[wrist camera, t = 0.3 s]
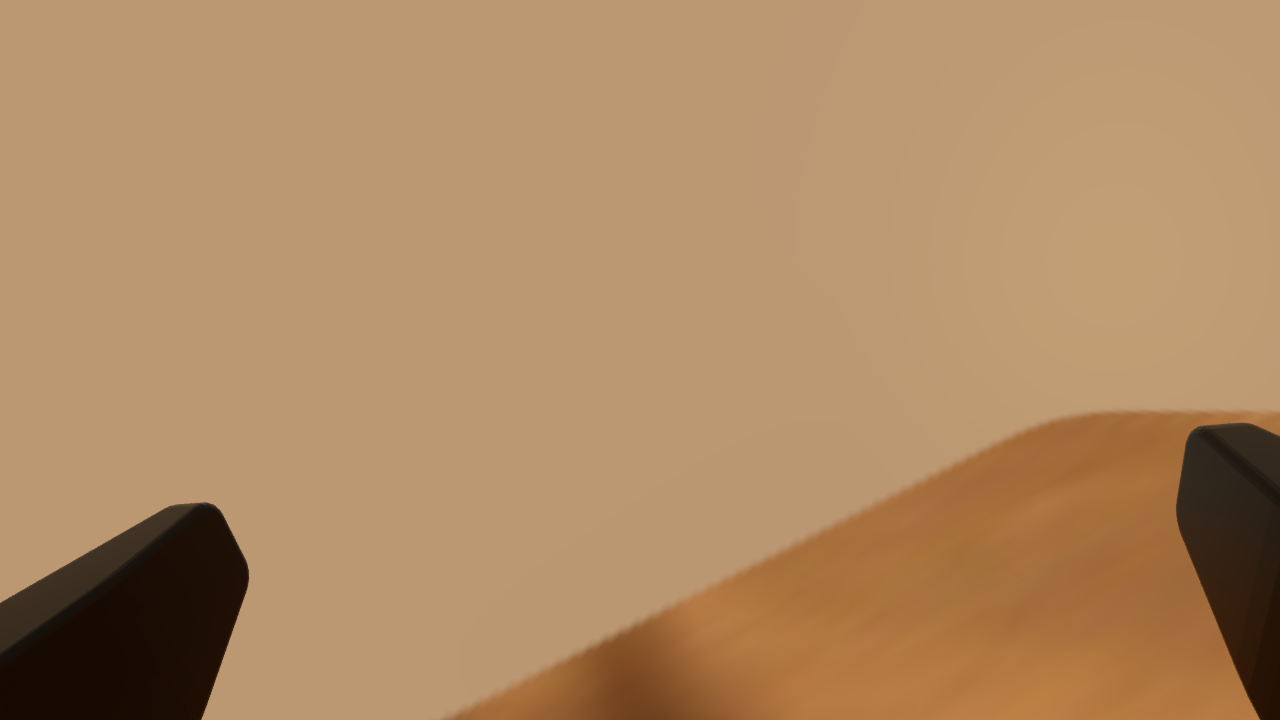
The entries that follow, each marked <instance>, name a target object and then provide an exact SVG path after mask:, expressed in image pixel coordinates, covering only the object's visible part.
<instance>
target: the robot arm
mask: <svg viewBox="0 0 1280 720" xmlns="http://www.w3.org/2000/svg"><path fill="white" fill-rule="evenodd" d="M1176 515H1177V522H1178V526H1179V530H1180V533H1181V536H1182V538H1183V541H1184V543H1185V545H1186V548H1187V550H1188V553H1189V555H1190V558H1191V560H1192V563H1193V565H1194V568H1195V570H1196V572H1197V575H1198V577H1199V580H1200V582H1201V585H1202V587H1203V590H1204V592H1205V595H1206V597H1207V600H1208V602H1209V604H1210V607H1211V609H1212V612H1213V614H1214V617H1215V619H1216V622H1217V624H1218V627H1219V629H1220V631H1221V634H1222V636H1223V639H1224V641H1225V644H1226V646H1227V649H1228V651H1229V654H1230V656H1231V658H1232V661H1233V663H1234V666H1235V668H1236V671H1237V673H1238V675H1239V677H1240V680H1241V682H1242V684H1243V686H1244V689H1245V691H1246V693H1247V695H1248V697H1249V699H1250V701H1251V703H1252V705H1253V707H1254V709H1255V711H1256V713H1257V715H1258V717H1259V719H1260V720H1280V436H1278V435H1276V434H1273V433H1271V432H1269V431H1267V430H1264V429H1262V428H1260V427H1258V426H1255V425H1253V424H1249V423H1231V424H1219V425H1206V426H1199V427H1197V428H1196V429H1194V430H1193V431H1191V433H1190V435H1189V436H1188V439H1187V442H1186V446H1185V452H1184V459H1183V465H1182V471H1181V477H1180V483H1179V490H1178V496H1177V503H1176ZM248 582H249V570H248V565H247V562H246V560H245V558H244V555H243V554H242V552H241V550H240V548H239V546H238V544H237V542H236V540H235V538H234V536H233V534H232V532H231V530H230V528H229V526H228V524H227V522H226V520H225V518H224V516H223V514H222V512H221V511H220V510H219V509H218V508H217V507H216V506H214V505H213V504H210V503H190V504H178V505H173V506H169V507H167V508H165V509H163V510H161V511H160V512H158V513H156V514H155V515H153V516H151V517H149V518H147V519H146V520H144V521H142V522H140V523H139V524H137V525H135V526H134V527H132V528H130V529H128V530H126V531H125V532H123V533H121V534H120V535H118V536H116V537H114V538H112V539H111V540H109V541H107V542H106V543H104V544H102V545H100V546H98V547H97V548H95V549H93V550H91V551H90V552H88V553H86V554H85V555H83V556H81V557H79V558H78V559H76V560H74V561H72V562H71V563H69V564H67V565H66V566H64V567H62V568H60V569H58V570H57V571H55V572H53V573H51V574H50V575H48V576H46V577H44V578H43V579H41V580H39V581H37V582H36V583H34V584H32V585H30V586H29V587H27V588H25V589H24V590H22V591H20V592H18V593H17V594H15V595H13V596H12V597H9V598H8V599H6V600H4V601H2V602H1V603H0V720H201V719H202V717H203V714H204V711H205V708H206V706H207V703H208V700H209V697H210V695H211V692H212V689H213V686H214V683H215V680H216V677H217V674H218V672H219V668H220V666H221V663H222V660H223V657H224V654H225V651H226V648H227V646H228V643H229V640H230V637H231V634H232V631H233V628H234V625H235V623H236V620H237V616H238V614H239V611H240V608H241V605H242V602H243V599H244V597H245V594H246V591H247V587H248Z"/></svg>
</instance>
